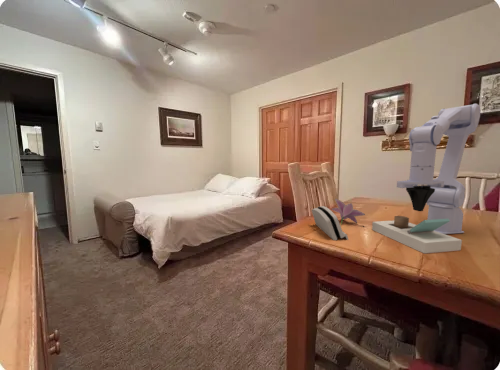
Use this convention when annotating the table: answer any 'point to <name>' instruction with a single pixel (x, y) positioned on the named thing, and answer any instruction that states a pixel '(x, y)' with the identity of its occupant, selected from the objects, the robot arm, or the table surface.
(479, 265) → the table surface
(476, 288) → the table surface
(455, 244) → the tray
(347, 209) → the lily
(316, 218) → the grey curved piece
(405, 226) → the peg
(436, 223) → the teal flap lid
